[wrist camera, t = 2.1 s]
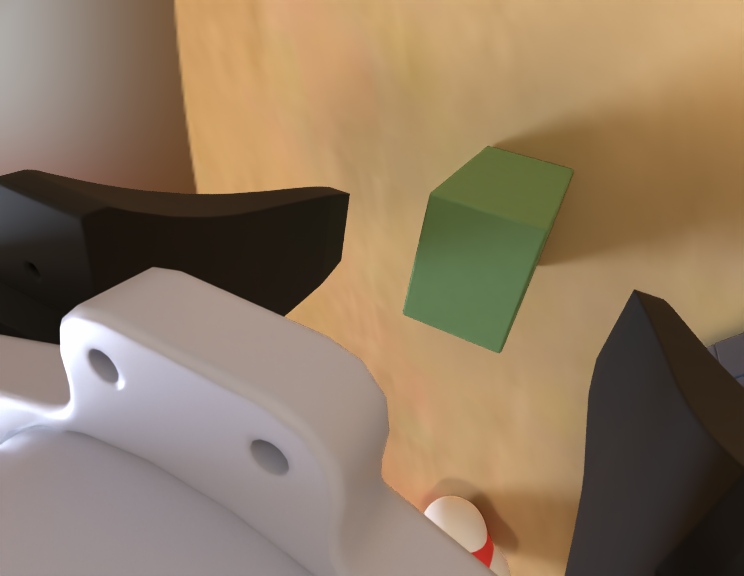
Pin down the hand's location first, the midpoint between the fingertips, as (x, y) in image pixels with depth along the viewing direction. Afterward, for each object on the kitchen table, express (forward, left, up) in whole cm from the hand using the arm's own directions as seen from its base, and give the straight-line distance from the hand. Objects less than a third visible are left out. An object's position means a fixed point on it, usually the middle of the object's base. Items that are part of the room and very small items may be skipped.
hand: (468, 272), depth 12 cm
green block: (0, 0, -5) cm, 5 cm away
